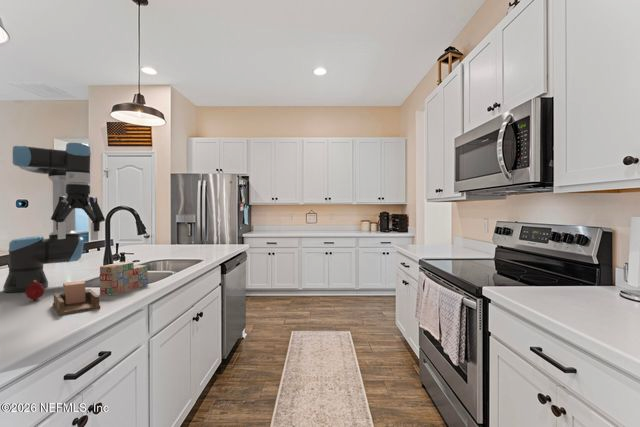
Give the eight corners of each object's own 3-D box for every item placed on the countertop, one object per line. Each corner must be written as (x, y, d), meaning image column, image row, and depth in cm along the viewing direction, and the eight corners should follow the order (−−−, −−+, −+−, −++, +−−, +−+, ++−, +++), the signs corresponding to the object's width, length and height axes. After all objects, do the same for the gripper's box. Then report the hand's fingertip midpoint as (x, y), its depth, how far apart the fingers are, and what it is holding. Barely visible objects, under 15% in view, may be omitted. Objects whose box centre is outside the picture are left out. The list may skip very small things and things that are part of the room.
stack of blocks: (136, 283, 162) (136, 258, 162) (147, 284, 161) (148, 259, 161) (99, 294, 141) (99, 265, 141) (112, 295, 140) (112, 266, 140)
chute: (52, 305, 124) (52, 293, 124) (90, 299, 133) (91, 288, 133) (58, 315, 113) (58, 302, 113) (100, 308, 121) (100, 296, 121)
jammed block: (63, 301, 126) (63, 282, 126) (82, 298, 130) (82, 280, 130) (65, 304, 121) (65, 285, 121) (85, 301, 126) (85, 283, 126)
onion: (47, 299, 133) (47, 279, 133) (30, 303, 128) (30, 282, 127) (39, 297, 135) (39, 278, 135) (22, 301, 130) (22, 280, 130)
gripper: (39, 182, 124) (39, 239, 125) (101, 183, 122) (100, 241, 122) (57, 184, 132) (56, 237, 132) (115, 185, 129) (115, 239, 130)
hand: (77, 239), depth 127 cm, fingers open, 13 cm apart
